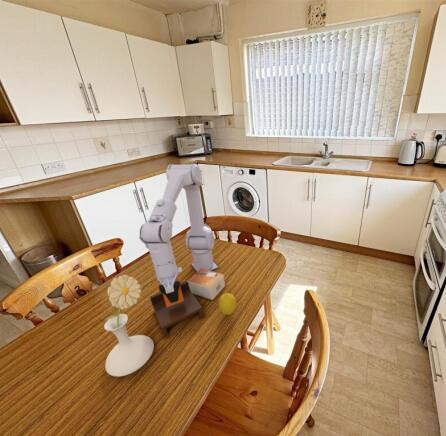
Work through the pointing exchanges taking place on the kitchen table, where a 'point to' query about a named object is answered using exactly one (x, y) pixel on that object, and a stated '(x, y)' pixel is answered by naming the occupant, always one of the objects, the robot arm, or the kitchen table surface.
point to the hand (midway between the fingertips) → (173, 296)
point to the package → (180, 298)
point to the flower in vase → (128, 346)
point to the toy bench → (175, 308)
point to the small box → (206, 283)
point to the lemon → (227, 304)
